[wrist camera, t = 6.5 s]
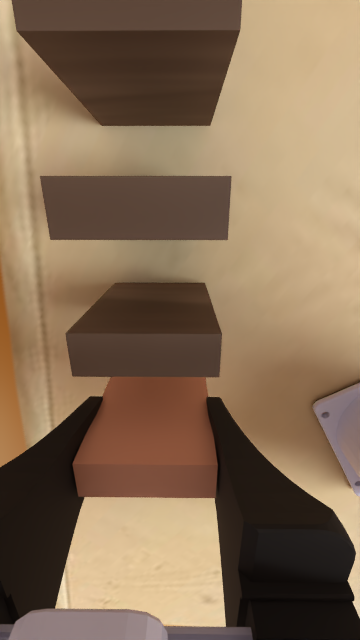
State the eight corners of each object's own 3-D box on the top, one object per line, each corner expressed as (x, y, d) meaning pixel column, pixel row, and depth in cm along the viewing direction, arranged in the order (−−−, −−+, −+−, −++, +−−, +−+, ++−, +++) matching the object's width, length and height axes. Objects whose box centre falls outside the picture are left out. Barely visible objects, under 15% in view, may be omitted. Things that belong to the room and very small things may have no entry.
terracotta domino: (202, 386, 17) (215, 497, 10) (119, 385, 17) (78, 496, 10) (203, 362, 16) (217, 465, 9) (117, 362, 16) (72, 463, 9)
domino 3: (204, 310, 16) (219, 377, 9) (117, 309, 16) (72, 376, 9) (204, 283, 15) (221, 333, 9) (115, 282, 15) (65, 333, 9)
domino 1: (210, 125, 13) (240, 30, 6) (101, 125, 13) (16, 31, 6) (211, 82, 12) (246, -74, 6) (98, 82, 12) (-1, -73, 6)
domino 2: (206, 228, 14) (227, 240, 8) (110, 228, 14) (50, 239, 8) (207, 194, 14) (231, 176, 7) (108, 194, 14) (40, 176, 7)
